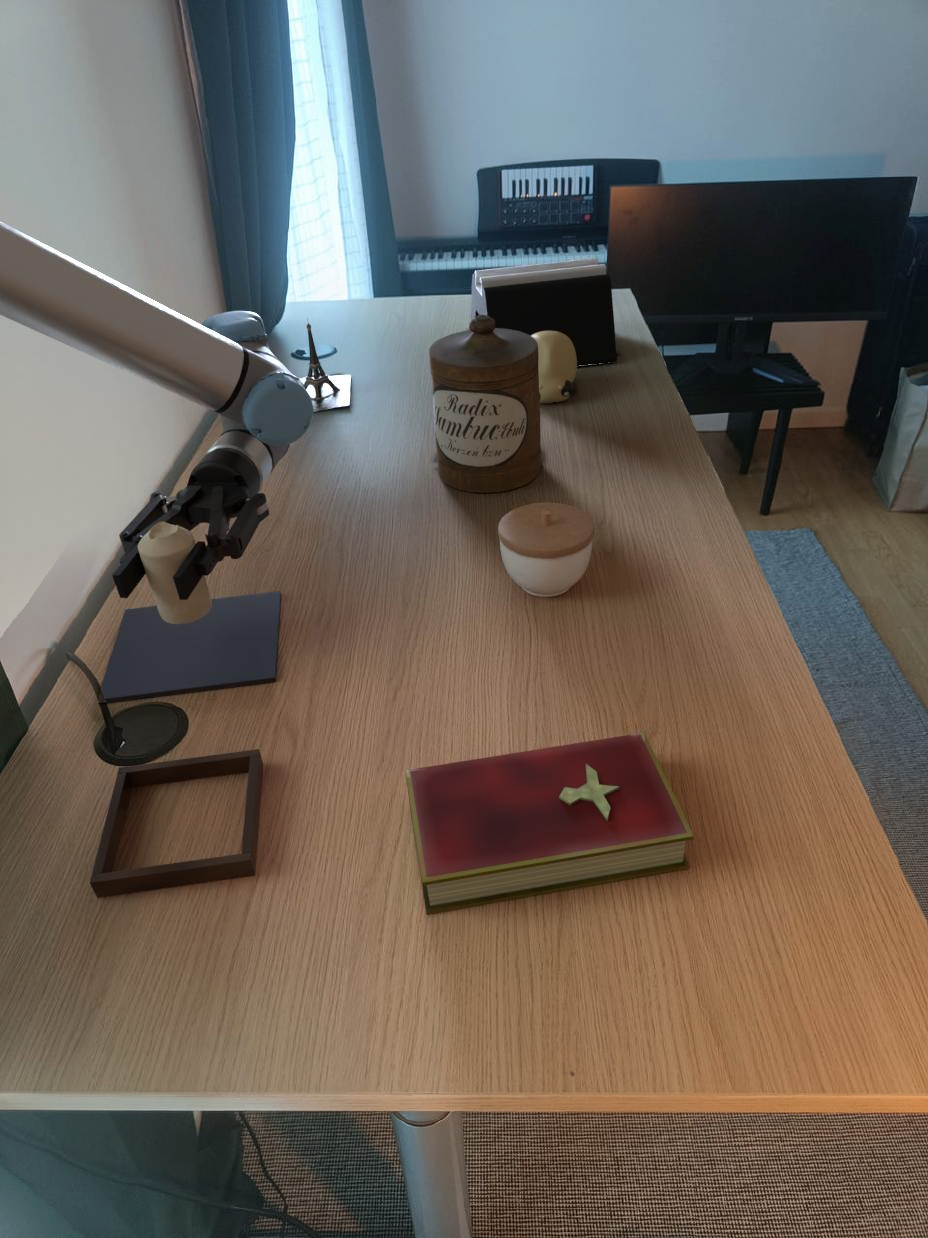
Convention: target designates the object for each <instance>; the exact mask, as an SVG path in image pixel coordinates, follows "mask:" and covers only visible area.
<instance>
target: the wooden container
mask: <svg viewBox="0 0 928 1238" xmlns="http://www.w3.org/2000/svg"><path fill="white" fill-rule="evenodd" d="M428 359H429V361H428V363H429V370H430V374H431V384H432V387H431V389H432V404H433V405H432V406H433V422H434V423H433V425H434V439H435V441H434V442H435V449H436V461H437V463H436V464H437V472H438V476H439V478H440V479H441V480H442V481H443V482H444V483H445V484H446V485H448V486H450V487H452V488H455V489H457V490H460V491H465V492H469V493H480V494H490V493H491V494H492V493H502V492H507V491H511V490H514V489H518V488H520V487H523V486H525V485H527V484H529V483H530V482H532V481H533V480H534V479H536V477H537V476H538V475H539V474H540V472H541V443H542V442H541V438H542V437H541V436H542V435H541V403H540V398H539V371H538V344H537V341H536V340H535V339H534V338H533V337H532V336H530V335H528V334H525V333H523V332H519V331H515V330H510V329H499V328H495V321H494V319H492V318H490V317H489V316H487V315H478V316H476V317H475V318H474V319H472V320H471V319H470V320H469V323H468V329H467V330H462V331H458V332H455V333H451V334H448V335H445V336H443V337H441V338H438V339H437V340H435V341H434V342H433V343H432V344H431V345H430V346H429V348H428Z"/></svg>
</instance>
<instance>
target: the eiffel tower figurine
mask: <svg viewBox="0 0 928 1238" xmlns="http://www.w3.org/2000/svg"><path fill="white" fill-rule="evenodd" d="M306 319H307V321H309V319H308V317H307V318H306ZM306 330H307V337H308V338H307V339H308V348H309V362H308V365H309V366H308V372H307V376H306V375H305V377H298V378H299V380H300V381H301V382H302V383H303V385H304V387H305V389H306V391H307V392H308V394H309V395H310V398H311V400H312V404H313V413H315V412H320V411H325V410H329V409H334V408H342V407H349V406H351V405H350V404H351V402H350V401H351V380H352V374H343V375H342V374H340V375H329V374H327V373H326V372H325V371H324V369H323V367H322V365H321V361H320V360H319V357H318V353H317V350H316V346H315V341H314V337H313V334H312V325H311V324H310V323H309V322H307V324H306Z"/></svg>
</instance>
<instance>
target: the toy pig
mask: <svg viewBox="0 0 928 1238" xmlns="http://www.w3.org/2000/svg"><path fill="white" fill-rule="evenodd" d="M531 336H532V337H533V338H534V339H535V340H536V341H537V344H538V371H539V398H540V404H554V403H553V402H556V403H561V402H564V401H566V400H567V399H569V398H570V397H571V396H572V394H573V392H574V384H573V383H574V381H575V378H576V377H577V376H576V375H577V370H578V367H577V357H576V352H575V348H574V346H573V343H572V341H571V340H570V339H569V338H568V337H567V336H566V335H565V334H563V333H560V332H557V331H541V332H537V333H535V334H533V335H531ZM560 401H561V402H560Z"/></svg>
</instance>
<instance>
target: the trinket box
mask: <svg viewBox="0 0 928 1238" xmlns="http://www.w3.org/2000/svg"><path fill="white" fill-rule="evenodd" d="M497 529H498V530H497V531H498V532H497V533H498V538H499V550H500V555H501V560H502V563H503V565H504V569H505V570H506V572H507V575H508V576H509V577H510V578H511V580H512V581H513V582H514V583H515V584H517V585H518V586H519V587H520V588H521V589H522V590H523V591H524V592H525V593H527V594H529V595H531V596H535V597H539V598H552V597H553V598H554V597H557V596H561V595H563V594H565V593H567V592H568V591H569V590H570V589H571V588H572V587H573V586H574V585H575V584H577V583H578V582H579V581H580V580H581V578H583V576H584V575H585V573H586V571H587V569H588V566H589V564H590V562H591V557H592V552H593V544H594V536H595V523H594V521H593V519H592V517H591V516H590V515H588V513H587V512H585V511H584V510H582V509H581V508H578V507H576V506H572V505H569V504H567V503H559V502H550V501H549V502H534V503H528V504H525V505H521V506H519V507H516V508H514V509H511V510H509V511H508V512H507V513H506V514H505V515H503V517H501V519H500V521H499V523H498V528H497Z"/></svg>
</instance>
